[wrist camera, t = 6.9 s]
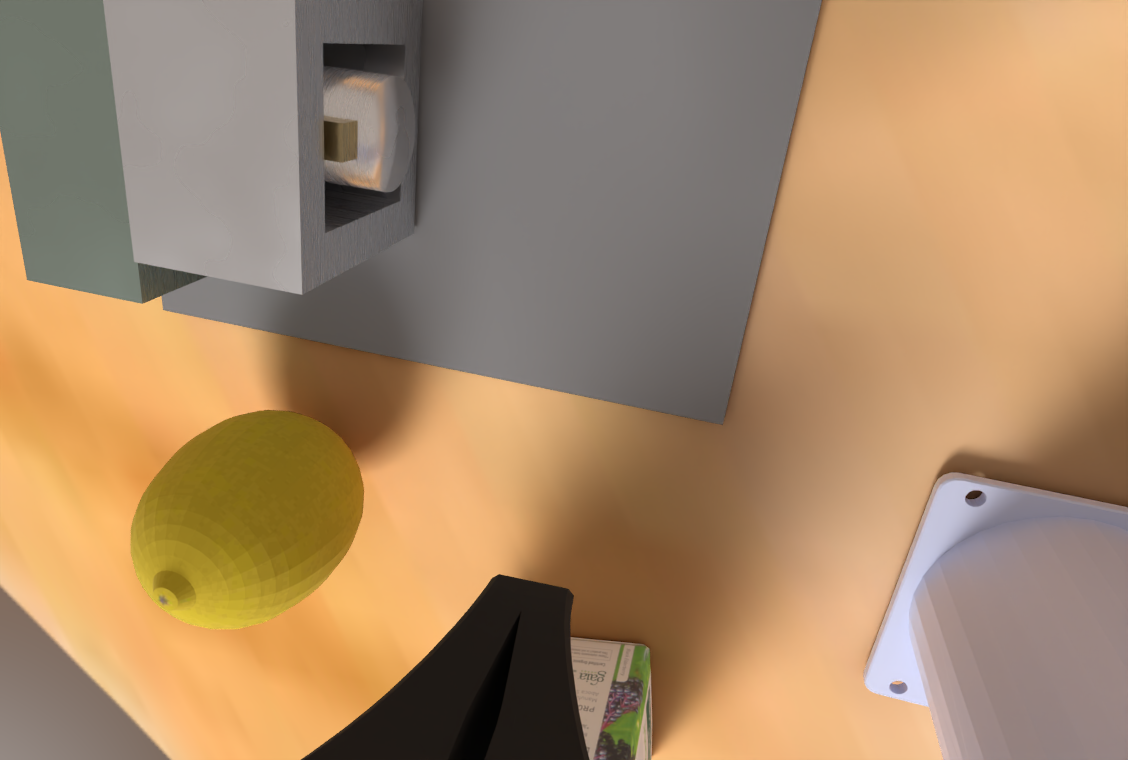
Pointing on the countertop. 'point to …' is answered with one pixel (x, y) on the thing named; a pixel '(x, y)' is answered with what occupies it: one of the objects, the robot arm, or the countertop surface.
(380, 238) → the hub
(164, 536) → the lemon
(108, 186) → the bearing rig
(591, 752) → the syrup box
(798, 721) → the countertop surface
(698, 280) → the mat
